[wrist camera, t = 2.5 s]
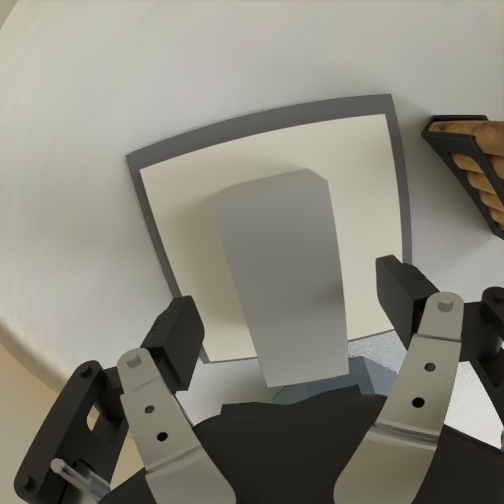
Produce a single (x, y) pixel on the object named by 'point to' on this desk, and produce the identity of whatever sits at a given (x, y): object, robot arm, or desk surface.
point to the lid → (283, 241)
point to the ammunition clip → (473, 159)
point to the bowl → (343, 382)
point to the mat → (263, 124)
